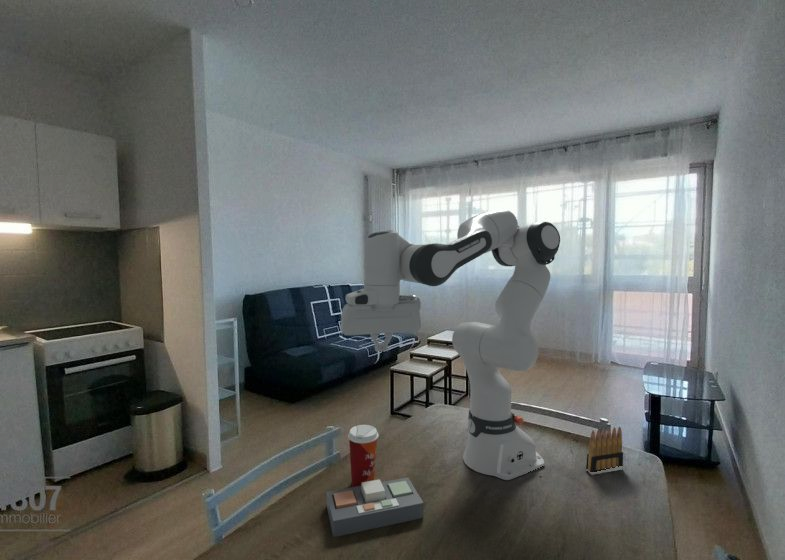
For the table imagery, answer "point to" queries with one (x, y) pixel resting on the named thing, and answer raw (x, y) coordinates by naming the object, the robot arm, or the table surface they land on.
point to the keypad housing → (373, 510)
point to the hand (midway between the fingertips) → (381, 350)
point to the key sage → (399, 489)
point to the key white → (372, 491)
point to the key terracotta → (344, 499)
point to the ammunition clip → (605, 450)
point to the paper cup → (362, 453)
